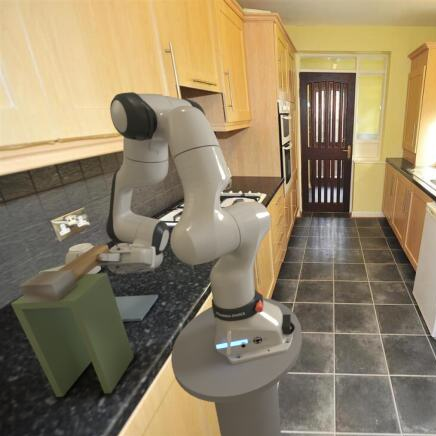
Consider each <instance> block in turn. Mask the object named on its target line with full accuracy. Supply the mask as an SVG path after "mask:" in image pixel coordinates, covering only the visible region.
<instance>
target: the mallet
mask: <svg viewBox="0 0 436 436" xmlns="http://www.w3.org/2000/svg"><path fill="white" fill-rule="evenodd" d="M93 246H94V247H92V248H91V249H89V250H88V251H86V252H85V253H83V254H82V255H80V256H79V257H77V258H76V259H74V260H73V261H71V262H70V263H68V264H67V265H65V264H64V265H65V266H64V267H62V268H61V269H59V270H58V271H44V270H42V271H43V272H40V271H39V272H40V273H39V272H38V273H37V274H35V275H33V276H31V278H28V279H27V280H25V281H24V282H22V283H21V284H19V285H18V286H19V289H20V290H21V293H22V296H23V295H24V297H25V300H26V302H27V303H32V302H51V301H60V300H61V299H62V298H64V297H65V296H66V295H67V294H69V293H70V292H71V291H72V290H74V289H75V288H76V287H77V283H76V282H77V281H78V280H79V279H81V278H82V277H83V276H84V275H86V274H87V273H88V272H90V271H91V270H92V269H93V268H95V267H96V266H97V265H99V264H100V263H101V262H102V261H97V260H96V258H97V254H109V253H110V251H109V250H110V248H109V244H99V245H98V244H97V245H93Z"/></svg>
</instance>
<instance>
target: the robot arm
mask: <svg viewBox="0 0 436 436" xmlns="http://www.w3.org/2000/svg"><path fill="white" fill-rule="evenodd" d="M109 113H110V118H111V122H112V124H113V127H114V128H115V130H116V132H118V134H120V135H121V136H122V137H123V139H122V140H123V141H122V147H123V148H122V149H123V150H122V151H123V161H122V164H121V166H118V168H116V170H115V171H114V173H113V176H112V181H111V187H110V198H109V199H110V201H109V211H108V216H107V219H106V222H105V233H106V234H107V236H108V238H109V239H110V240H111V241H114V242H119V243H117V244H115V245H114V246H112V247H111V248H109V251H110V253H109V254H97V258H96V260H97V261H102V262H101V263H100V264H99V265H97V266H100V267H103V266H107V268H108V270H109V271H111V272H112V273H114V274H117V275H126V274H127V275H128V274H134V273H135V274H136V273H137V274H141V273H148V272H151V271H154V270H156V269H157V268H158V267H160V265H162V262H163V260H164V253H163V252H164V251H165V250H166V248H167V247H168V246H169V245H168V244H169V243H170V248H171V250H172V253H173V254H174V256H175V257H176V258H177V259H178V260H179V261H180V262H181V263H183V264H185V265H188V266H195V265H201V264H205V263H209V262H212V261H216V260H217V261H216V262H215V263H214V265H213V266H212V268H211V269H210V273H209V282H210V290H211V296H212V298H211V307H212V310H213V314H214V318H215V321H216V328H215V337H214V346H215V348H216V350H217V351H218V352H219V353H221V354H222V355H224V356H226V358H227V359H228V361H229V362H230V363H231V364H237V363H241V362H246V361H250V360H254V359H259V358H263V357H268V356H272V355H277V354H281V353H285V352H287V351H288V349H289V348H290V346H291V343H292V339H293V331H294V329H295V326H294V324H293V323H292V322H291V314H282V311H281V309H280V308H279V307H278V306H276V305H274V304H271V303H269V302H267V301H265V300H263V298H264V296H263V289H262V288H261V289H260V292H259V291H258V290H256V289H255V288H256V287H255V264H256V258H257V255H258V252H259V249H260V246H261V244H262V243H263V240H264V239H265V237H266V235H267V234H268V233H269V231H270V230H271V225H272V219H271V214H270V212H269V210H268V208H267V207H266V206H265V204H263V203H262V202H259V201H240V202H238V203H234V204H231V205H228V206H224V207H222V206H221V194H222V193H223V191H224V190H226V189H227V187H228V186H229V184H230V182H231V181H230V180H231V173H230V170H229V167H228V164H227V162H226V159H225V156H224V154H223V151H222V147H221V145H220V142H219V140H218V138H217V136H216V133H215V131H214V129H213V128H212V125H211V123H210V122H209V120H208V118H207V117H206V116H207V115H206V113H205V110H204V108H203V107H202V105H201V104H199V103H198V102H196V101H193V100H191V99H189V98H179V97H176V96H171V95H170V96H169V95H163V94H160V93H136V92H133V91H129V92H120V93H117V94H115V95H114V97H113V98H112V100H111V101H110V106H109ZM169 151H170V154H171V156H172V160H173V163H174V165H175V168H176V171H177V173H178V177H179V180H180V182H181V186H182V190H183V209H182V212H181V215H180V216H179V219H178V221H177V223H176V224H175V225H174V227H173V229H172V230H171V231H170V229H169V226H168V224H167V223H166V221H164V220H161V219H157V218H154V217H153V218H152V217H148V216H144V215H140V214H137V213H134V212H133V211H132V209H131V204H132V197H133V191H134V189H138V188H139V189H141V188H148V187H151V186H155V185H157V184H159V183H161V182H162V181H163V180H165V178H166V176H167V175H168V172H169ZM83 253H85V252H71V253H69V252H67V253H66V255H65V258H64V265H67V264H68V263H70V262H71V261H73V260H74V259H76V258H77V257H79V256H80V255H82V254H83Z"/></svg>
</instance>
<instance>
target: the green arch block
mask: <svg viewBox="0 0 436 436" xmlns="http://www.w3.org/2000/svg"><path fill="white" fill-rule="evenodd" d="M76 283H77V287H76V288H75V289H74V290H72V291H71V292H70V293H69V294H67V295H66V296H65V297H64V298H62V299H61V300H60V301H51V302H32V303H27V302H26V300H25V297H24V295H23V294H22V296H20V297H19V298H17V299H15V300H14V301H12V302H11V303H10V305H11V307H12V309H13V311H14V313H15V315H16V318H17V319H18V321H19V323H20V326H21V328H22V330H23V332H24V334H25V336H26V337H27V340H28V342H29V345H30V346H31V348H32V350H33V352H34V354H35V356H36V359H37V360H38V362H39V364H40V366H41V368H42V371H43V372H44V374H45V376H46V378H47V380H48V382H49V385H50V387H51V388H52V390H53V393H54V394H55V396H56V398H61V397H65V396H66V394H67V393H68V391H69V390H70V389H71V388H72V386H73V385H74V384H75V382H76V381H77V380H78V379H79V378H80V376H81V375H82V374H83V373H84V371H85V370H86V369H87V368H88V366H90V364H92V366H93V368H94V371H95V374H96V376H97V378H98V381H99V383H100V386H101V389H102V391H103V394H112V393H113V391H114V390H115V388H116V387H117V385H118V383H119V381H120V380H121V378H122V377H123V375H124V373H125V372H126V370H127V369H128V368H129V366H130V364H131V362H132V361H133V359H134V358H135V356H134V352H133V349H132V346H131V343H130V341H129V338H128V334H127V330H126V328H125V325H124V322H123V321H122V318H121V315H120V312H119V309H118V306H117V303H116V300H115V297H116V296H115V294H114V291H113V288H112V287H113V286H112V284H111V282H110V278H109V275H108V273H107V272H100V273H99V272H97V273H96V274H86V275H84V276H83V277H82V278H81V279H79V280H78V281H77V282H76Z"/></svg>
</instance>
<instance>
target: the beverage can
mask: <svg viewBox="0 0 436 436" xmlns="http://www.w3.org/2000/svg"><path fill="white" fill-rule="evenodd" d="M94 246H95V245H93V244H92V243H90V242H84V243H79V244H75V245H72V246H71V247H69V248H68V253H71V252H86V251H88V250H89V249H91V248H92V247H94ZM101 270H102V266H96V267H95V268H93V269H92V270H91V271H90V272H88V273H87V274H97V273H99V272H100V271H101Z"/></svg>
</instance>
